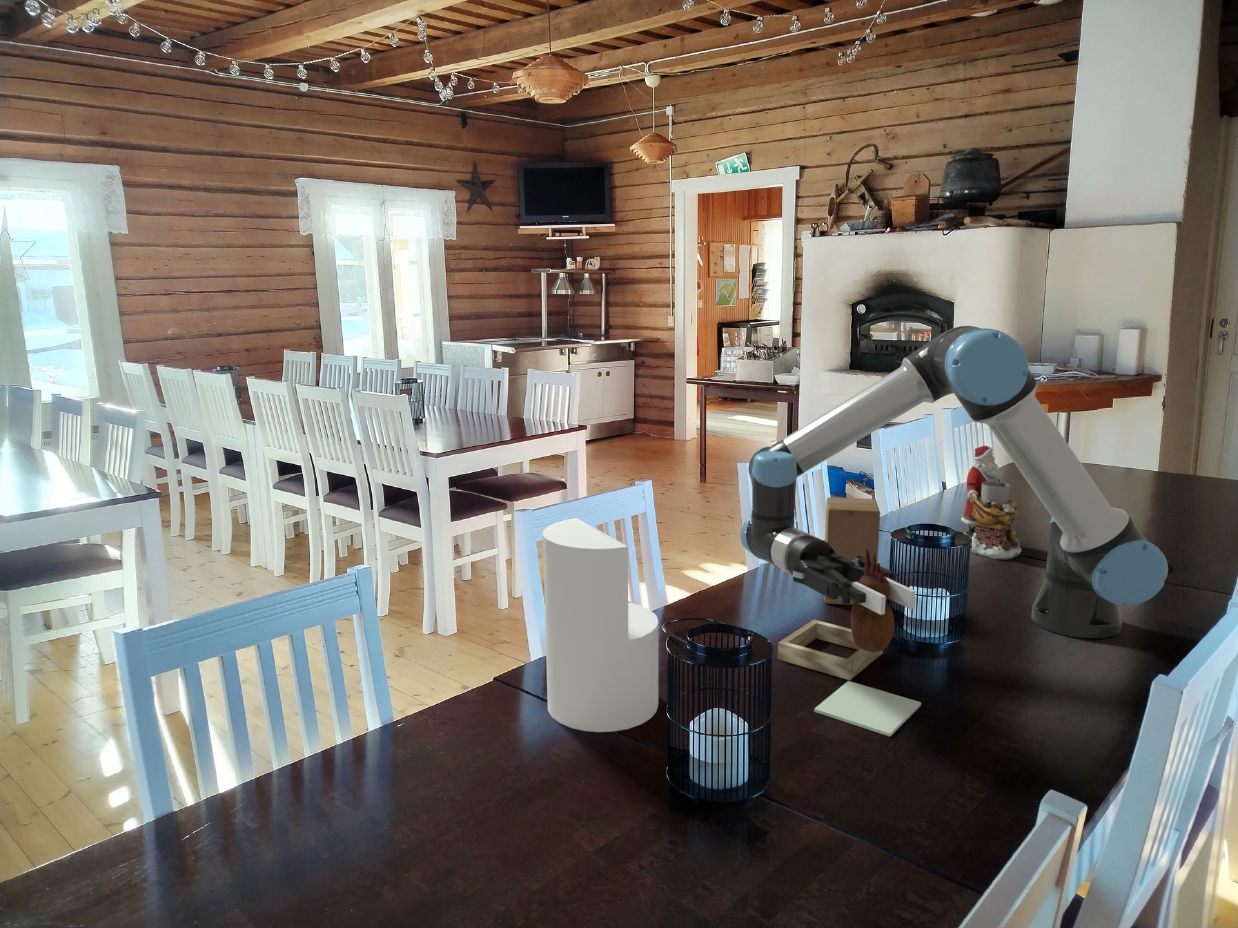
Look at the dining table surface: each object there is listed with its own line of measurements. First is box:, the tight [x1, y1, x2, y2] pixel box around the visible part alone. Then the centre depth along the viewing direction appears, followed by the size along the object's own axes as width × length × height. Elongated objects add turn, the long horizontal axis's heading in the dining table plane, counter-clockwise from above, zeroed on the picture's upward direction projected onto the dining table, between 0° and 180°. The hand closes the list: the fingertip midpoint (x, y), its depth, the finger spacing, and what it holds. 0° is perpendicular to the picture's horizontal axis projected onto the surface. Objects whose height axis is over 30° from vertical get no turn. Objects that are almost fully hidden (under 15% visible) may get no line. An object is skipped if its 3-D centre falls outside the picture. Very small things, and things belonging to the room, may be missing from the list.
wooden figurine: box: [850, 549, 895, 652], centre depth 131 cm, size 7×6×15 cm
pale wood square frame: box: [776, 619, 884, 681], centre depth 153 cm, size 13×13×3 cm
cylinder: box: [542, 517, 659, 733], centre depth 134 cm, size 17×17×28 cm
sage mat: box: [813, 680, 922, 737], centre depth 135 cm, size 12×12×1 cm
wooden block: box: [823, 496, 881, 606], centre depth 179 cm, size 10×10×20 cm
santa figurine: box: [960, 445, 1023, 560], centre depth 210 cm, size 17×14×25 cm
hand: (897, 602), depth 126 cm, fingers closed on wooden figurine, 5 cm apart
